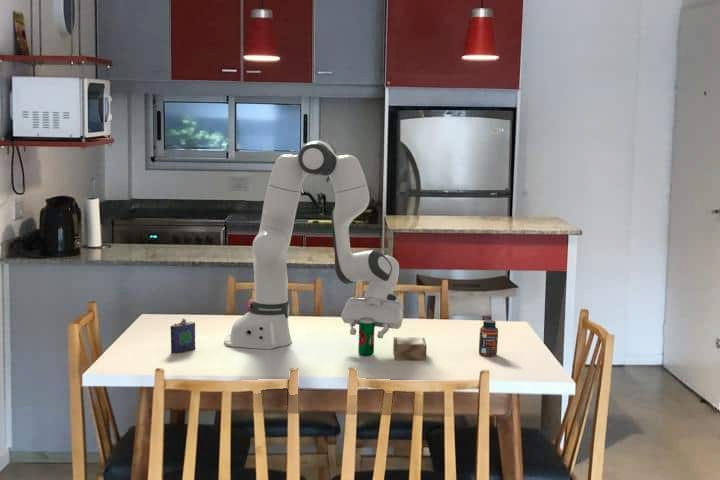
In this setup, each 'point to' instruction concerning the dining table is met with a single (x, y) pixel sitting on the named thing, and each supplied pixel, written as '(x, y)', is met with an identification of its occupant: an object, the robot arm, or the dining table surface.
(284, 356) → the dining table surface
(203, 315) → the dining table surface
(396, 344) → the base block
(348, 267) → the robot arm
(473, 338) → the dining table surface
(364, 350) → the soda can
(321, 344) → the dining table surface
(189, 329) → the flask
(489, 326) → the supplement bottle
